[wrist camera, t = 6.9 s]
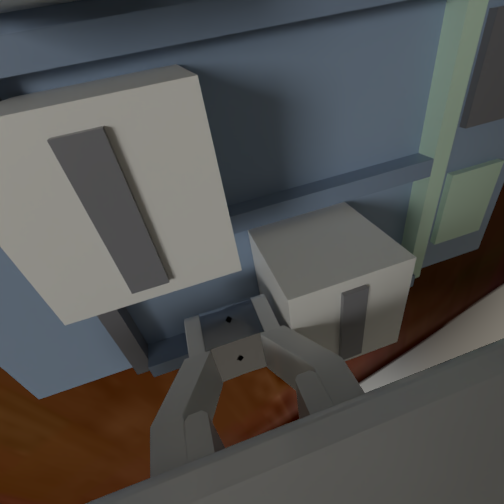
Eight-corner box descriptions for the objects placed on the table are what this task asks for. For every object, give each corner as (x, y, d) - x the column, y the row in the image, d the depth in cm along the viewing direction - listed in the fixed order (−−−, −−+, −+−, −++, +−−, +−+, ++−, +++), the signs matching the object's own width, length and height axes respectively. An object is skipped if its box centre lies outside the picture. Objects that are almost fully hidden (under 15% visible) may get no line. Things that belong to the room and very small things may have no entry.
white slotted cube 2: (91, 233, 10) (63, 330, 6) (13, 96, 7) (-99, 138, 4) (211, 200, 10) (243, 274, 7) (175, 63, 8) (198, 75, 4)
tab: (261, 302, 14) (298, 383, 10) (247, 229, 11) (290, 304, 8) (340, 275, 14) (399, 344, 11) (343, 200, 12) (420, 260, 8)
